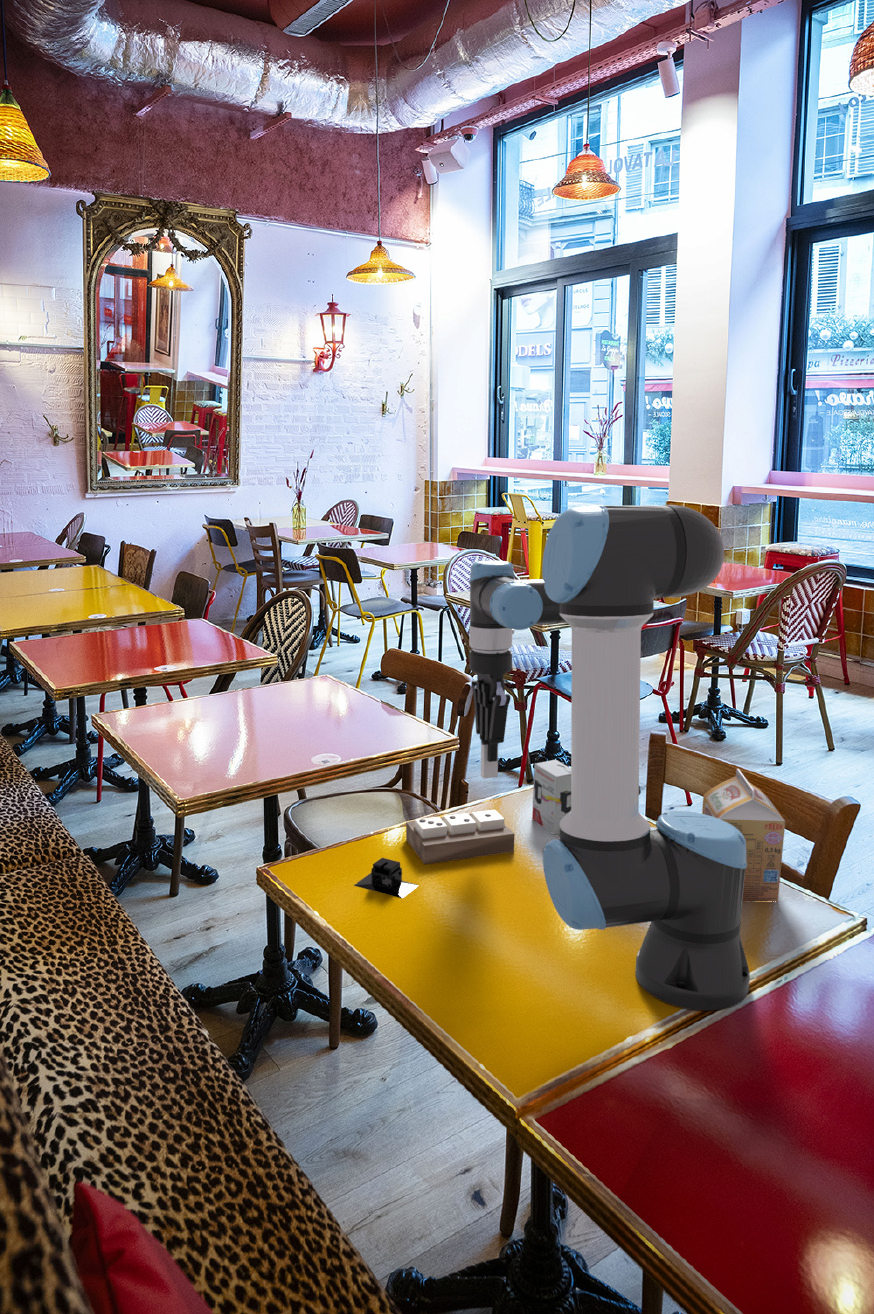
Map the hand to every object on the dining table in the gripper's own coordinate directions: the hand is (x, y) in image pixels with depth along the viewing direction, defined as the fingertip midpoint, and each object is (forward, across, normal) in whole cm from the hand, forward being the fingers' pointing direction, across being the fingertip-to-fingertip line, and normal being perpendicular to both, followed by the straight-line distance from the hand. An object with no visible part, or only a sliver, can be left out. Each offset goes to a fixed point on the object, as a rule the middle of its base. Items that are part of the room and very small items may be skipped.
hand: (489, 776), depth 173 cm
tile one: (+12, 0, 0) cm, 12 cm away
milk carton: (+14, -29, -33) cm, 46 cm away
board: (+13, 0, +6) cm, 14 cm away
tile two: (+12, 0, +6) cm, 13 cm away
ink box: (+13, +4, -15) cm, 20 cm away
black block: (+14, -11, +22) cm, 28 cm away
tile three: (+12, 0, +11) cm, 16 cm away
